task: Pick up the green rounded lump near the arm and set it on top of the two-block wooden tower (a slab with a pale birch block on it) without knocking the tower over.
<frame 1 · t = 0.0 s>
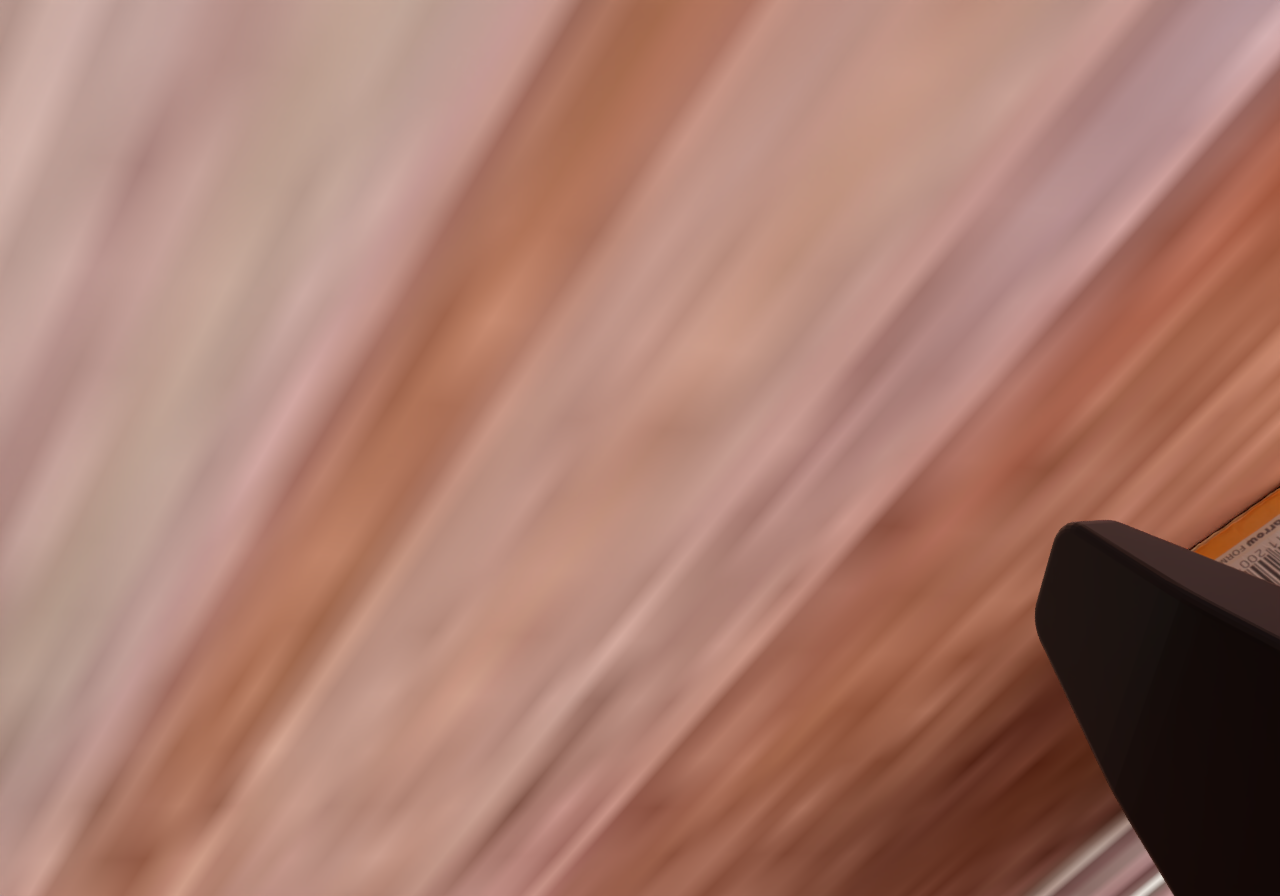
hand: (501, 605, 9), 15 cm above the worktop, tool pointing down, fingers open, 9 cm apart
supplement box: (1271, 604, 33), on the worktop
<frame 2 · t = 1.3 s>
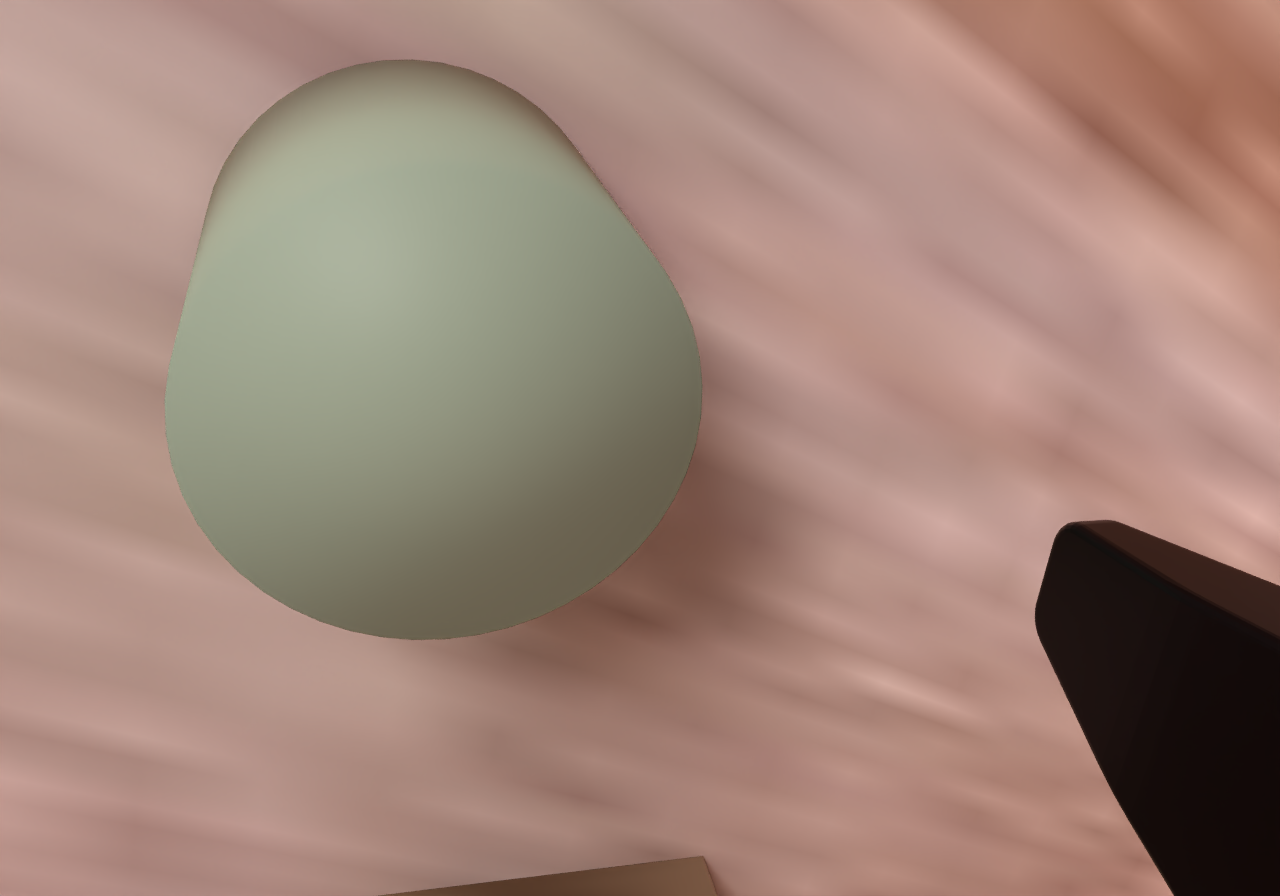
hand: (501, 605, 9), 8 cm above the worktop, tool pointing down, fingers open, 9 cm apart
green rounded lump: (413, 263, 15), on the worktop
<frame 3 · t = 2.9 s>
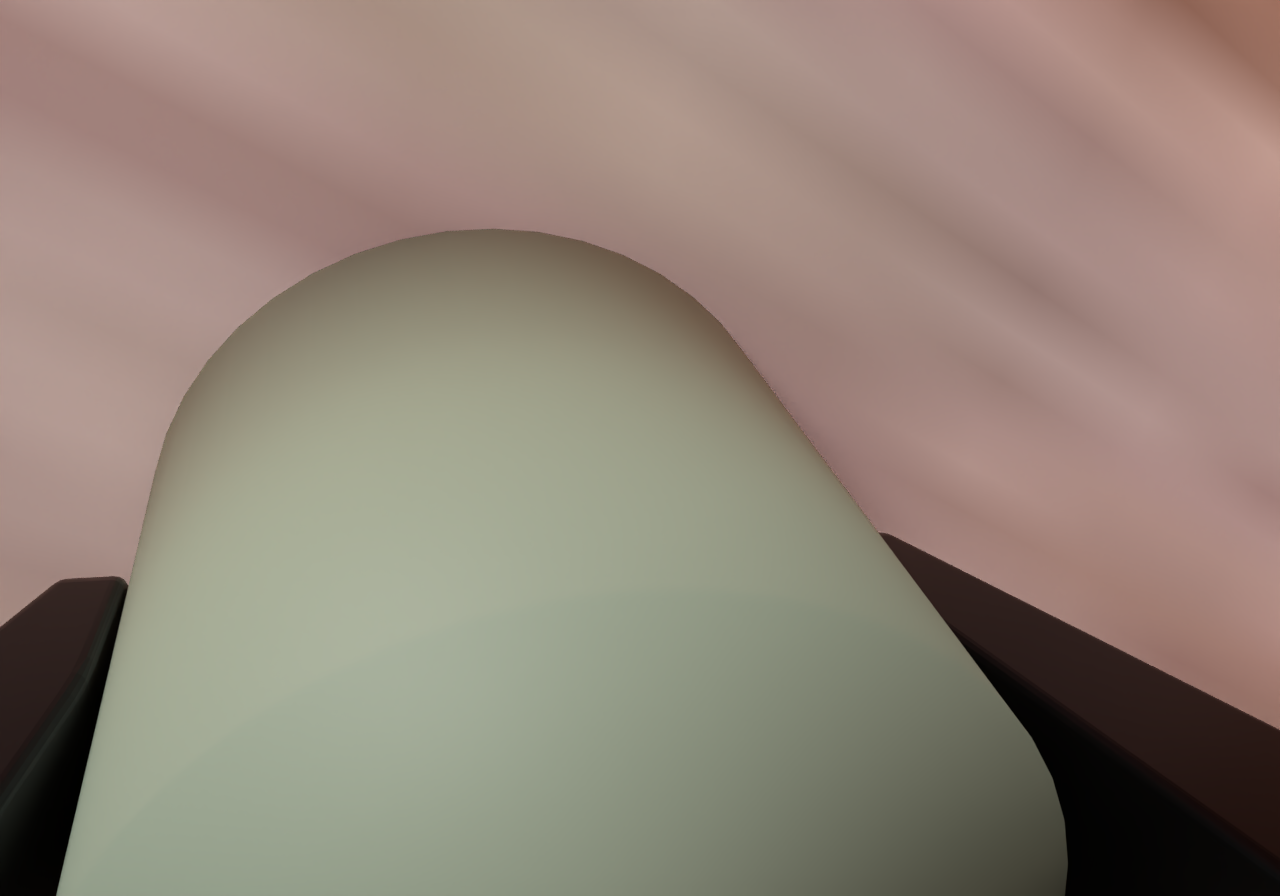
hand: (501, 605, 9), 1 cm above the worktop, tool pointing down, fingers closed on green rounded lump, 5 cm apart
green rounded lump: (484, 530, 10), on the worktop, touching gripper
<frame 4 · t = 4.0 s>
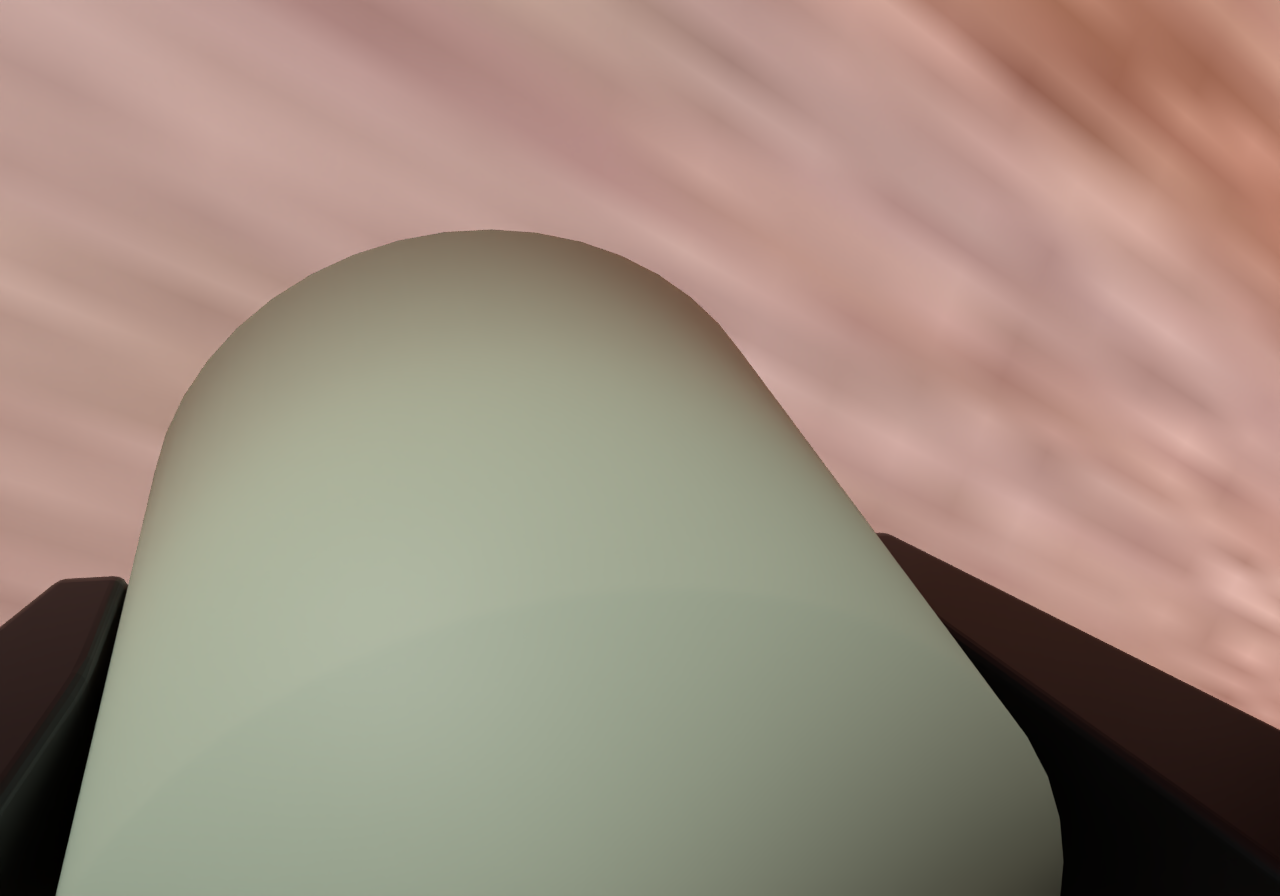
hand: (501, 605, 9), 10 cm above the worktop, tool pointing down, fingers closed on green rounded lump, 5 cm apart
green rounded lump: (483, 530, 10), point 9 cm above the worktop, touching gripper
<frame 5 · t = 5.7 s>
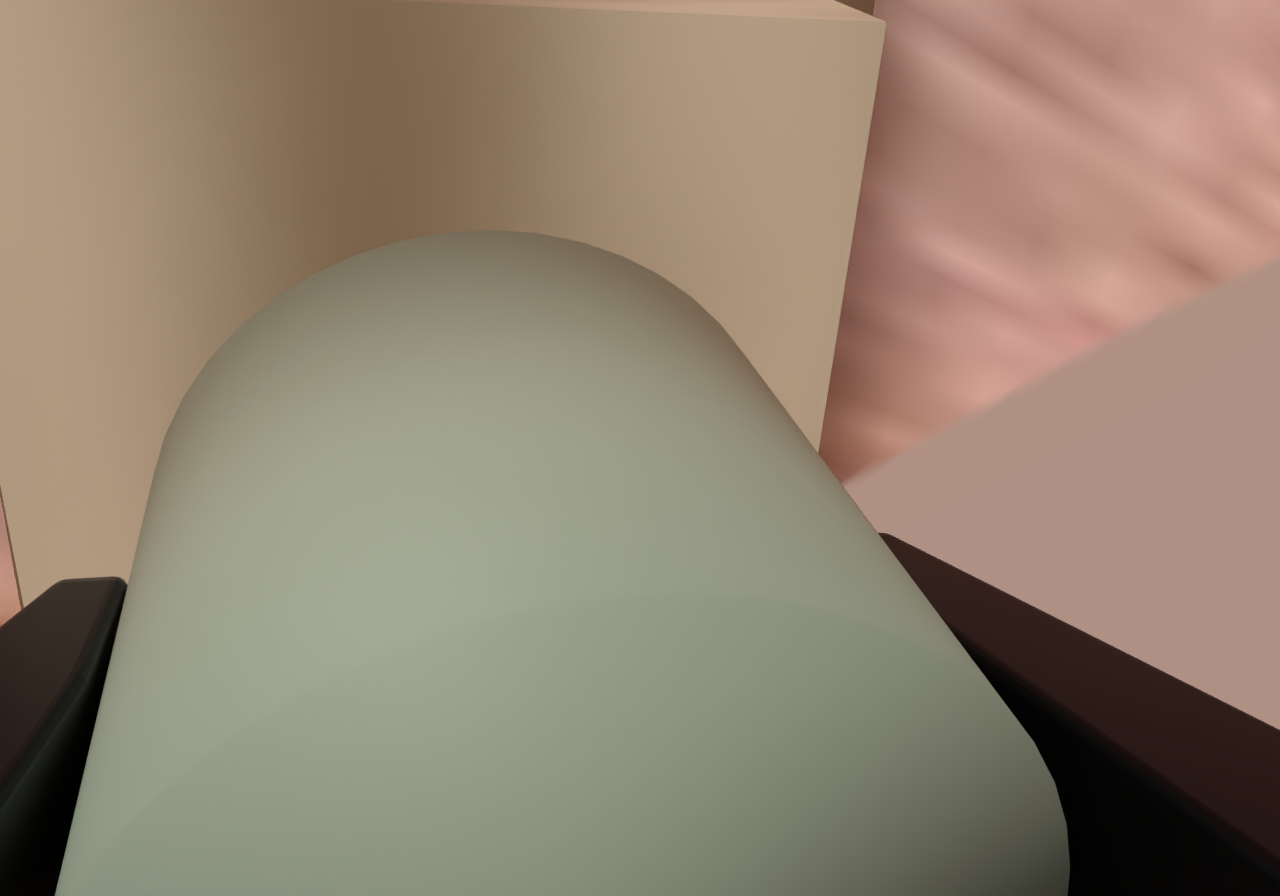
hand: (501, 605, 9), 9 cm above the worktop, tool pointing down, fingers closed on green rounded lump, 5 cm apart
green rounded lump: (484, 532, 10), point 8 cm above the worktop, touching gripper
top block: (419, 318, 14), point 2 cm above the worktop, touching base slab
base slab: (413, 212, 17), on the worktop, touching top block
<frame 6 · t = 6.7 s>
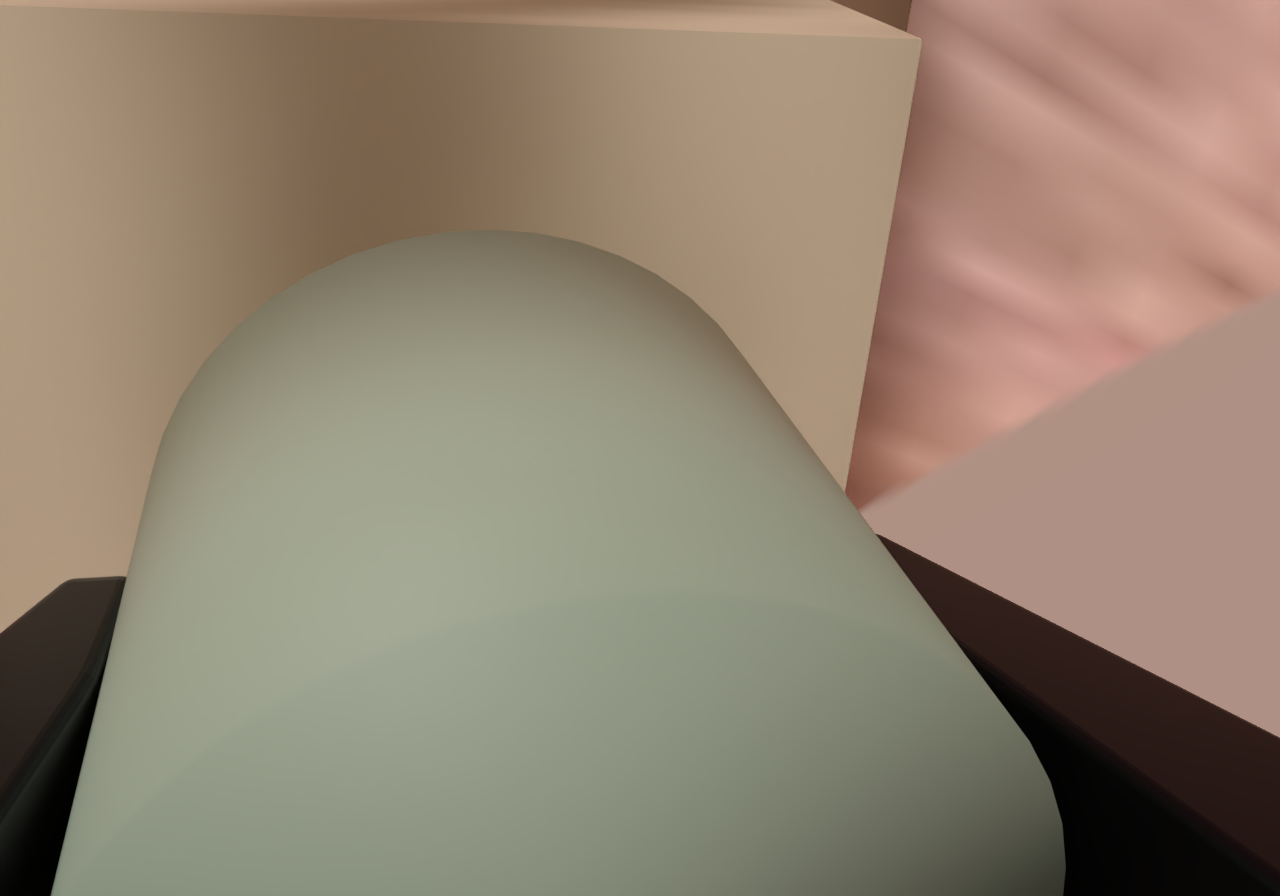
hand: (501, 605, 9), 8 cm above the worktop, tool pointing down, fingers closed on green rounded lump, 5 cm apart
green rounded lump: (482, 531, 10), point 7 cm above the worktop, touching gripper
top block: (422, 347, 14), point 2 cm above the worktop, touching base slab
base slab: (421, 225, 16), on the worktop, touching top block
when the fingers open (8 cm above the worktop, at t = 6.9 s): green rounded lump drops 2 cm, resting on top block.
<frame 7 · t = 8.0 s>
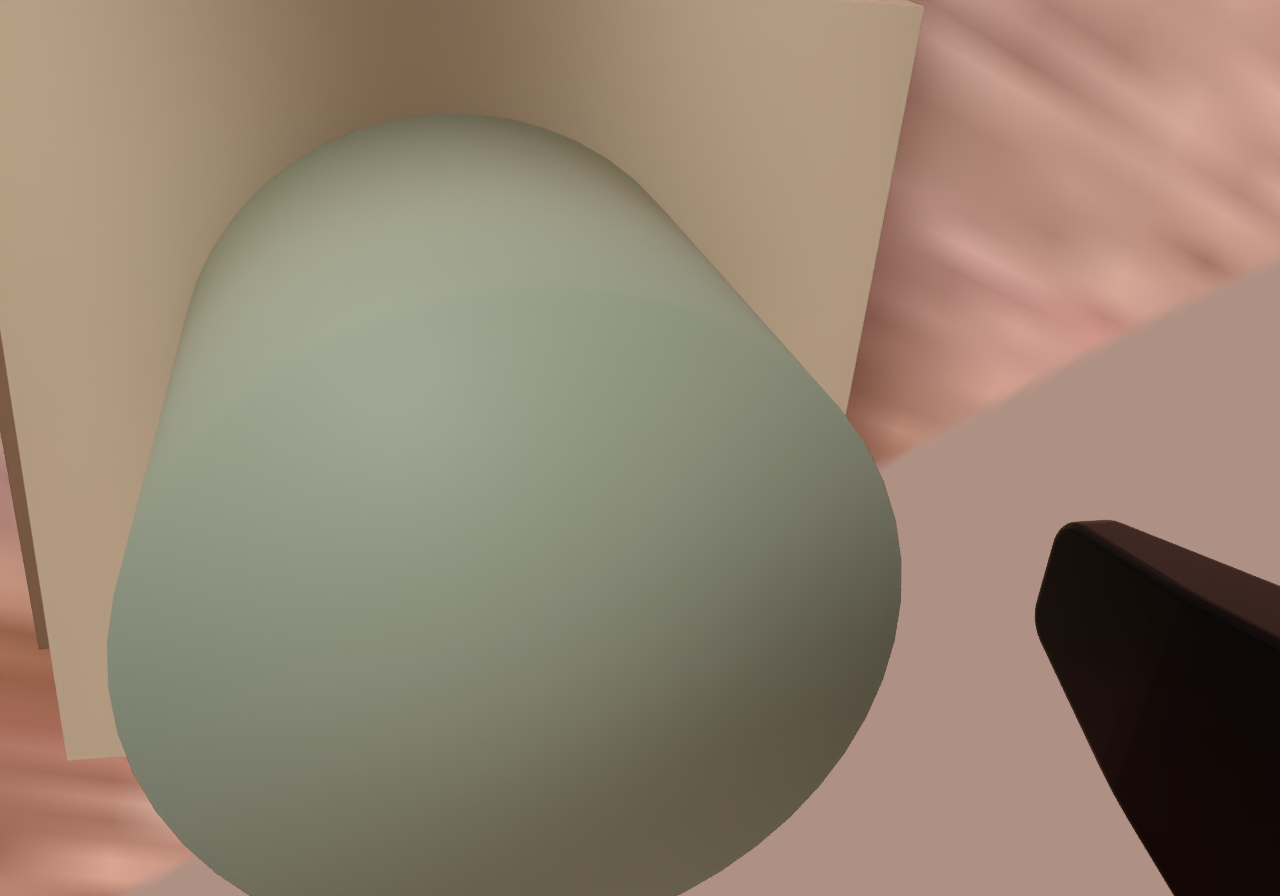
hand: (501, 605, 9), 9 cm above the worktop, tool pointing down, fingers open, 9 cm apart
green rounded lump: (460, 379, 12), point 5 cm above the worktop, touching top block
top block: (439, 299, 14), point 2 cm above the worktop, touching base slab, green rounded lump
base slab: (423, 199, 17), on the worktop, touching top block
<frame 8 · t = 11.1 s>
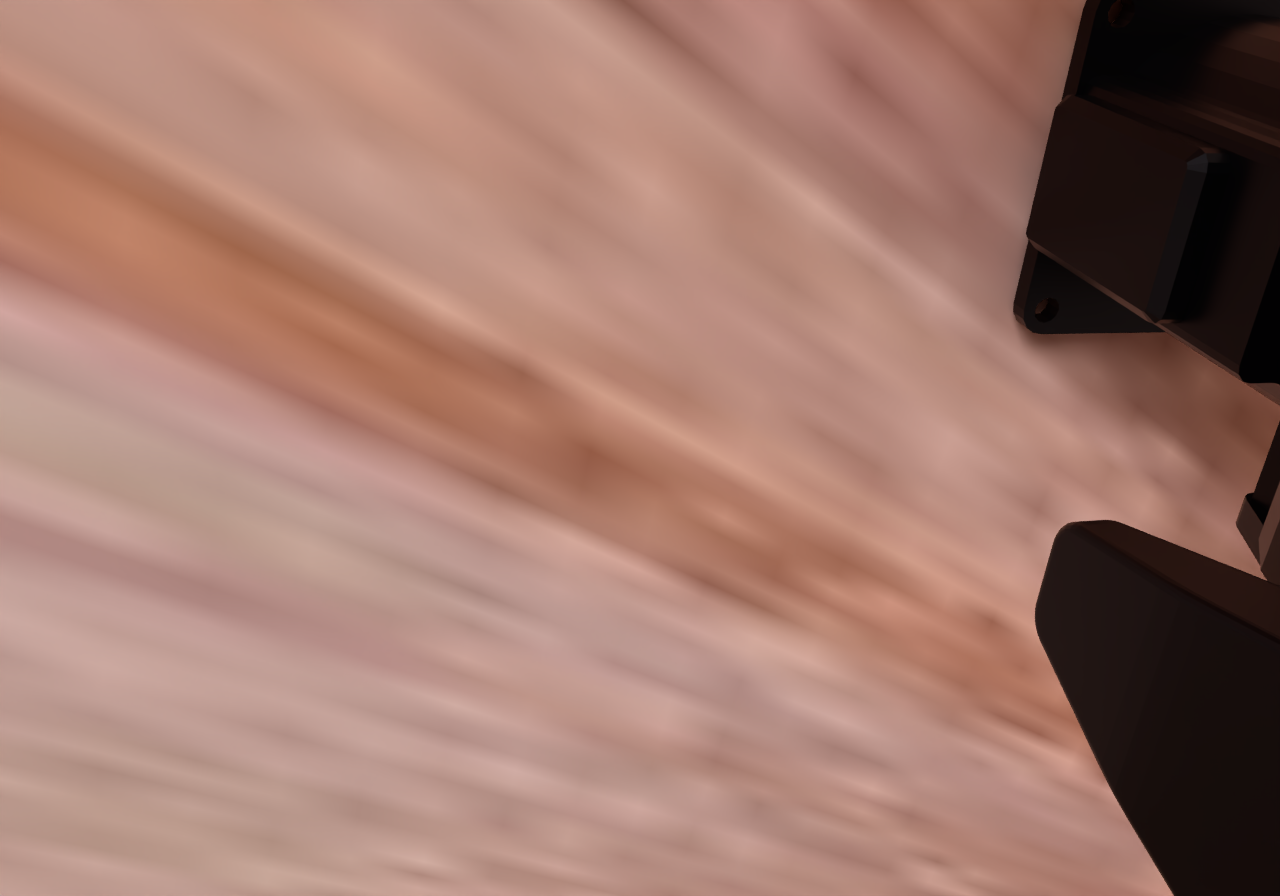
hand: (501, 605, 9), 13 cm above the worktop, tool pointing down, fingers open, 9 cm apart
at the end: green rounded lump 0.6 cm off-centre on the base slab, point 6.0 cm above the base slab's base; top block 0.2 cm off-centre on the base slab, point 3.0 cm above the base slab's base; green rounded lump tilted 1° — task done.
